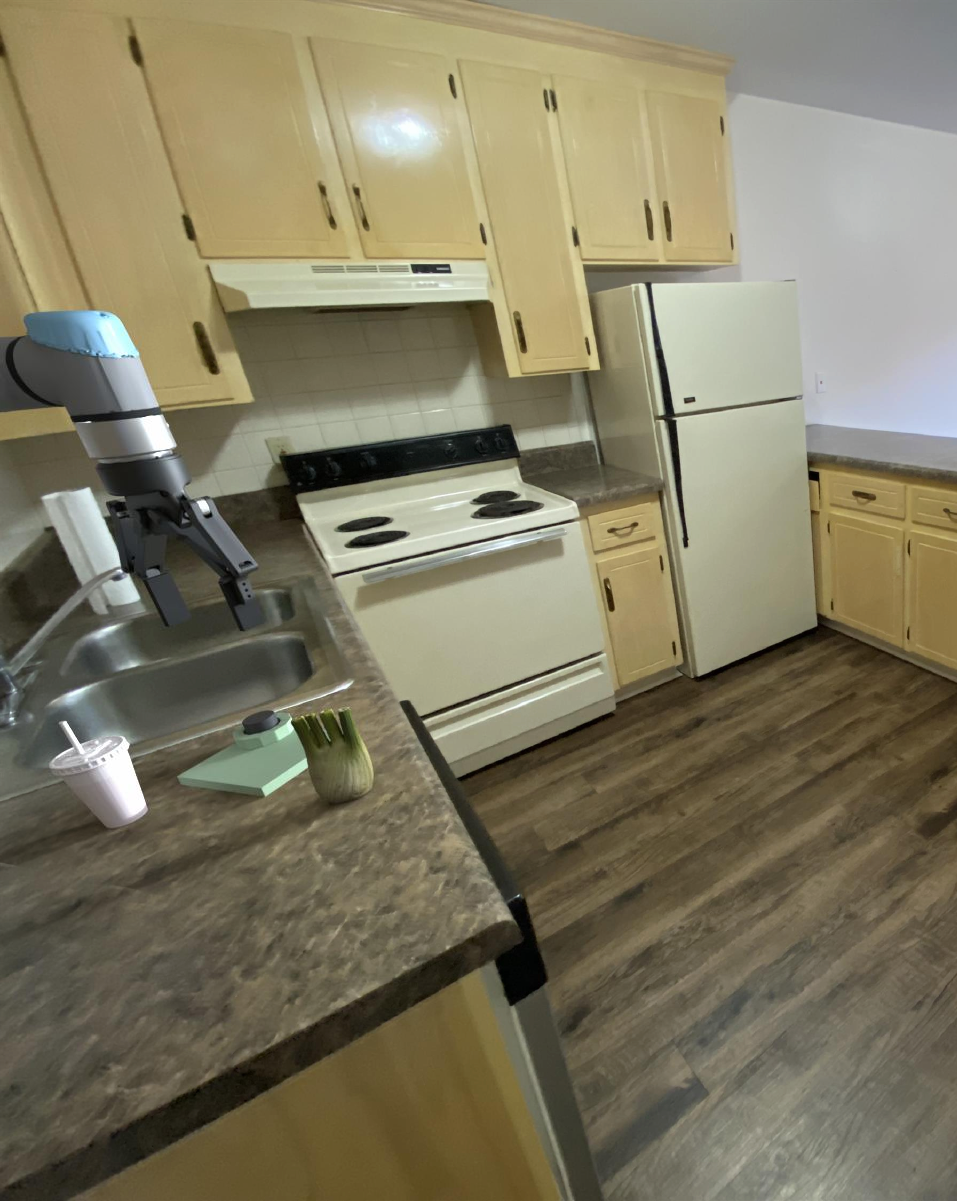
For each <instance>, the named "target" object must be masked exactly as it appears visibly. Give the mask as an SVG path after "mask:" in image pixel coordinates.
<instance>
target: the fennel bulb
mask: <svg viewBox="0 0 957 1201" xmlns="http://www.w3.org/2000/svg"><path fill="white" fill-rule="evenodd" d="M337 716H338V719H339V722H338V720H337V717H336V715H335V713H334V710H333V708H328V709H327V708H326V709H323V710H322V711H320V712H319V713H318V717H319V719H320V721H321V723H322V725H323V726H322V725H321V723H320V722H319V719H318V718H317V716H316V714H315V712H310V713H307V714H305V715H300V716H296V717H294V718H292V720H291V725H292V726H293V728H294V730H295V732H296V733H297V735H298V737H299V740H300V741H301V744H302V746H303V748H304V751H305V755H306V759H307V764H308V768H307V769H308V774H309V778H310V781H311V783H312V785H313V789H314V790H315V792H316V794H317V795H318V796H319V797H320V798H322V799H323V800H325V801H326V802H328V803H331V804H336V805H338V804H345V803H350V802H353V801H355V800H358V799H360V798H362V797H363V796H365V795H366V794H367V793H369V791H371V790H372V788H373V784H374V777H375V775H374V767H373V763H372V759H371V756H370V754H369V753H370V752H369V750H368V748H367V747H366V744H365V742H364V741H363V738H362V737H361V735H360V732H359V730H358V727H357V725H356V722H355V718H354V717H353V713H352V709H351V707H350V706H349V707H348V706H347V707H345V706H344V707H341V708H338V710H337ZM339 724H340V725H339ZM323 728H324V729H323ZM323 730H326V731H327V734H328V736H329V739H330V740H331V741H329V739H328V738H327V736H326V734H325V732H324V731H323ZM342 732H343V733H342Z"/></svg>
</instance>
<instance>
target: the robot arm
mask: <svg viewBox="0 0 957 1201" xmlns="http://www.w3.org/2000/svg"><path fill="white" fill-rule="evenodd" d="M22 320H23V324H24V327H25V329H26V332H25V335H17V336H15V335H14V336H0V413H10V412H11V413H12V412H19V411H30V410H38V409H39V410H40V409H49V408H65V410H66V412H67V414H68V415H69V418H70V420H71V422H72V425H73V427H74V429H75V431H76V433H77V435H78V436H79V437H78V438H79V439H80V441H81V443H82V445H83V447H84V449H85V451H86V453H87V455H88V458H90V459H92V460H98V462H99V463H97V464H96V466H95V467H94V469H95V471H96V473H97V475H98V477H99V479H100V481H101V483H102V485H103V487H104V489H105V491H106V493H107V494H108V495H110V496H113V497H121V498H117V499H112V500H108V501H106V502H105V507H106V508H107V511H108V513H109V515H110V517H111V520H112V524H113V530H114V537H115V541H116V547H117V552H118V559H119V564H120V568H121V571H122V572H123V573H125V574H126V575H129V574H133V575H134V576H135V577H136V578H137V579H139V580H141V581H142V582H143V585H144V587H145V588H146V591H147V593H148V594H149V597H150V598H151V601H152V602H153V604H154V606H155V609H156V611H157V613H158V615H159V617H160V619H161V621H162V623H163V624H164V626H165V627H167V628H170V627H173V626H176V625H178V624H181V623H183V622H186V621H188V620H190V619H192V618H193V617H192V614H191V613H190V611H189V609H188V607H187V605H186V603H185V601H184V598H183V596H182V594H181V592H180V590H179V588H178V586H177V584H176V581H175V580H174V577H173V575H172V573H171V572H169V570H170V567H168V566H167V565H165V558H166V557H165V556H166V548H167V540H168V536H170V537H173V539H175V540H176V541H179V542H180V541H181V542H184V543H185V544H186V545H187V546H188V547H189V548H190V550H192V551H193V552H194V553H195V554H196V555H197V556H198V557H199V558H200V559H201V560H202V561H203V562H204V563H205V564H206V565H207V566H209V568H210V569H212V571H214V572H215V573H216V574H217V575H218V576H219V577H220V578H219V579H218V581H217V584H218V585H219V588H220V590H221V592H222V594H223V597H224V599H225V601H226V603H227V606H228V607H229V610H230V612H231V614H232V617H233V618H234V621H235V623H236V626H237V628H238V630H239V632H247V631H249V630H252V629H253V628H256V627H259V626H260V625H262V624H265V623H266V620H265V618H264V615H263V613H262V611H261V608H260V605H259V604H258V601H257V596H256V594H255V592H254V589H253V587H252V585H251V582H250V579H249V575H250V574H252V573H254V572H256V571H258V570H259V569H260V568H259V565H258V562H256V560H255V558H253V557H252V555H251V554H250V552H249V551H248V550H247V549H246V547H245V546H244V545H243V543H242V541H240V540H239V538H238V536H236V534H235V533H234V531H233V530H232V529H231V528H230V526H229V525H228V524H227V522H226V521H225V520H224V518H223V517H222V516H221V514H219V511H218V509H217V507H216V505H215V502H214V500H213V499H212V497H210V496H209V495H204V496H199V497H196V498H191V497H190V496H189V495H188V494H187V492H186V490H185V488H186V486H189V485H190V484H191V483H192V481H193V478H192V476H191V474H190V471H189V469H188V466H187V464H186V462H185V460H184V458H183V455H181V454H179V453H178V452H173V450H175V449H176V448H177V446H178V444H177V443H176V440H175V438H174V436H173V433H172V431H171V429H170V425H169V423H168V422H167V421H166V418H165V416H164V414H163V411H162V408H161V407H160V405H159V403H158V400H157V397H156V395H155V393H154V391H153V388H152V386H151V383H150V381H149V378H148V375H147V373H146V371H145V370H146V369H145V368H144V365H143V363H142V360H141V357H140V352H139V350H138V349H137V348H136V346H135V344H134V343H133V341H132V340H131V337H130V336H129V333H128V331H127V330H126V328H125V325H124V324H123V322H122V321H121V319H120V317H118V316H117V315H116V314H113V313H111V312H109V311H105V310H89V309H88V310H84V309H83V310H51V311H50V310H48V311H36V312H29V313H26V314H25V315H24V316H23V319H22Z"/></svg>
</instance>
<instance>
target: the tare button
mask: <svg viewBox="0 0 957 1201" xmlns="http://www.w3.org/2000/svg"><path fill="white" fill-rule="evenodd" d="M275 713H276V712H275V711H274V710H272V709H271V710H270V709H265V710H260V711H258V712H254V713H252V714H250V715H248V716H246V717H245V718H244V719H242V721H241V724H242V725H243V727H244V729H245V731H246V733H247V734H248V735H252V734H257V733H262V732H264V731H267V730H270V729H271V728H273V727H275V726H276V725H278V724H279V722H278V719H277V717H276V715H275Z"/></svg>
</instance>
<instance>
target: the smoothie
mask: <svg viewBox="0 0 957 1201" xmlns="http://www.w3.org/2000/svg"><path fill="white" fill-rule="evenodd" d="M58 725H59V726H60V728H61V730H62V732H63V733H64V735H65V737H66V738H67V739H68V741H69V743H70V745H71V746H72V747H70V748H68V749H66V750H64V751H62V752H61V753H59V754H58V755H56V756H54V757H53V758H52V760H50V762H48V768H49V770H50V771H51V774H52V775H54V776H56V777H60V778H61V779H62V780H63V782H64V783H65V784H66V785H67V786H68V788H70V789H71V790H72V791H73V793H74V794H75V795H76V796H77V797H78V798H79V799H80V800H81V802H83V803H84V804H85V806H87V808H88V809H89V810H90V811H91V812H92V813H93V814H94V816H95V817H97V819H98V820H99V821H100V822H101V823H102V824H103V825H104V826H105V827H106V829H118V828H121V827H123V826H127V825H129V824H132V823H134V822H136V821H138V820H139V819H141V818H142V817H143V816H145V815H146V814H147V813H148V811H149V809H148V806H147V803H146V801H145V797H144V794H143V791H142V788H141V786H140V783H139V780H138V777H137V775H136V771H135V768H134V766H133V763H132V760H131V757H130V754H129V752H128V749H129V747H130V743H129V742H128V741H127V740H126V738H125V737H124V736H123V735H108V736H102V737H98V738H94V739H91V740H88V741H85V742H81V743H80V742H79V740H78V739H77V737H76V736H75V734H74V732H73V730H72V729H71V727H70V726H69V724H68V722H67V720H62V721H59V722H58Z"/></svg>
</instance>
